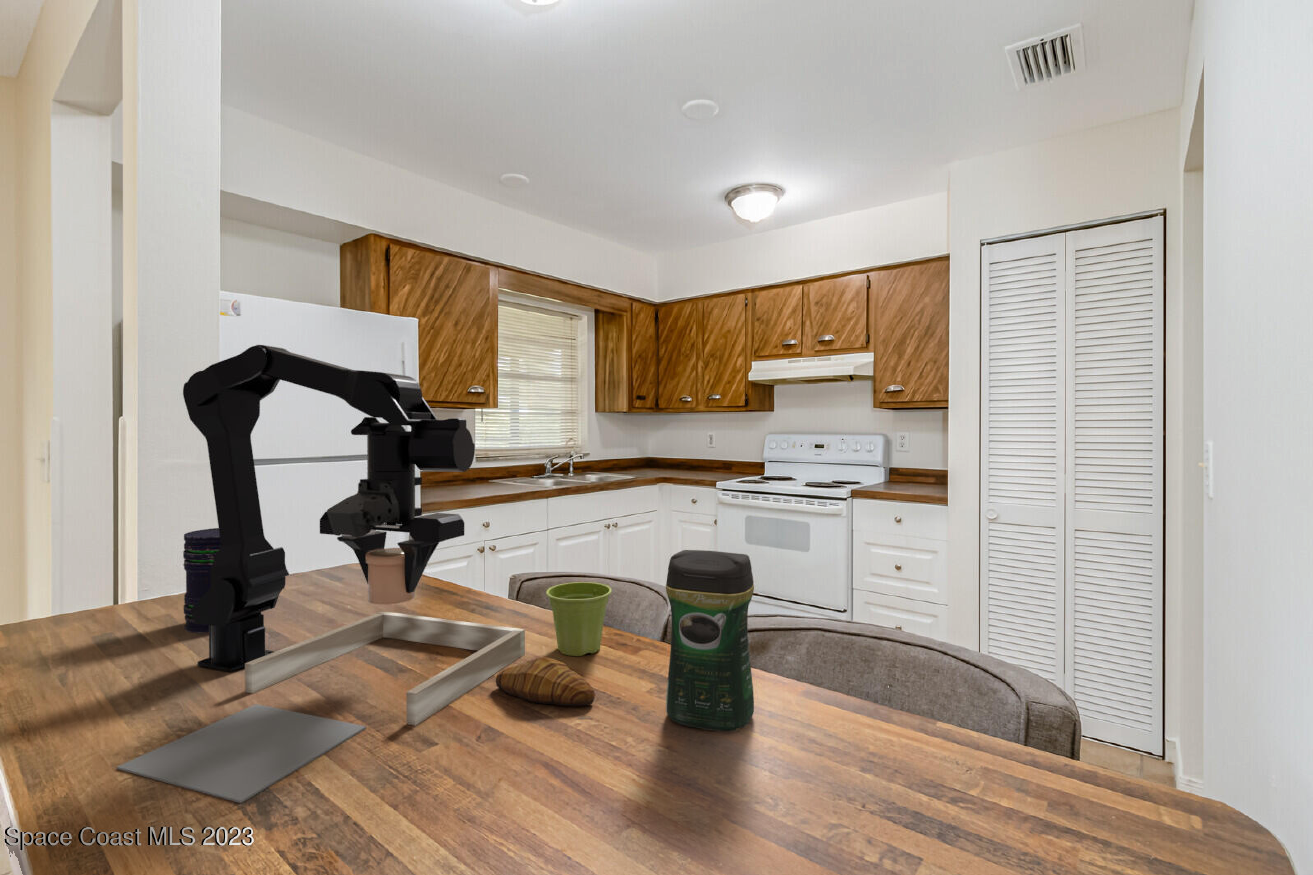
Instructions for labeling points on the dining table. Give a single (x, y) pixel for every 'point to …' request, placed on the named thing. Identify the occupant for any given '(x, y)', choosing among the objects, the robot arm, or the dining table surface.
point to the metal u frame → (438, 691)
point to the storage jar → (198, 570)
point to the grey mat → (243, 752)
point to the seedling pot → (387, 576)
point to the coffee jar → (710, 640)
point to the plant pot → (579, 615)
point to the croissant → (546, 683)
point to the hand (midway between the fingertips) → (391, 590)
